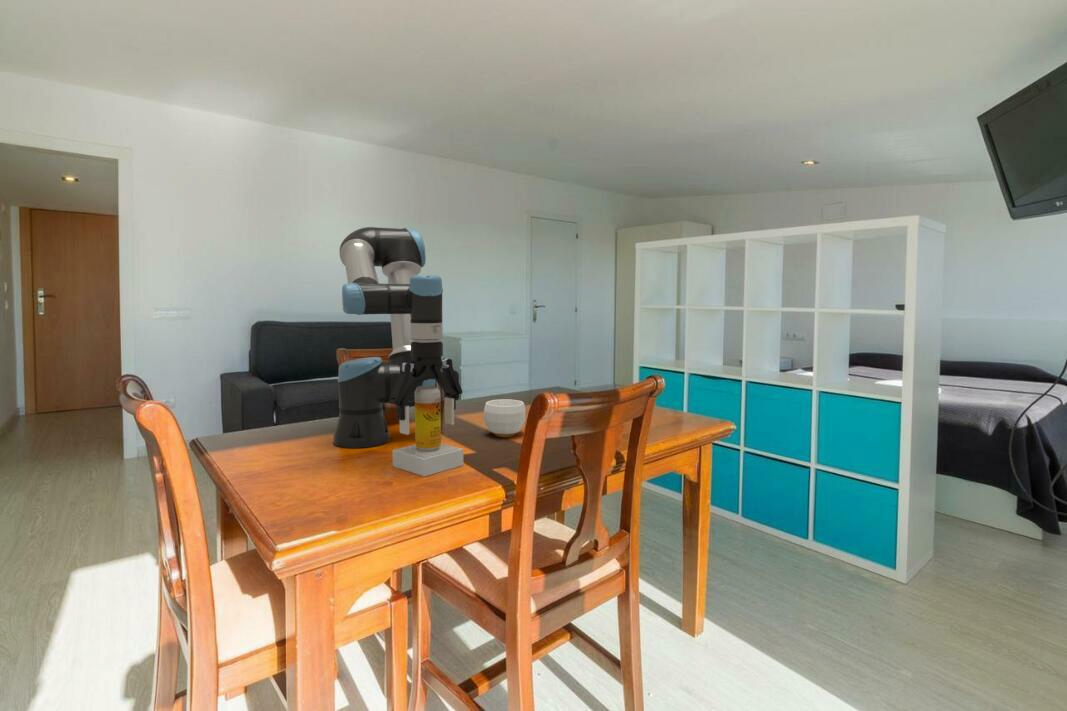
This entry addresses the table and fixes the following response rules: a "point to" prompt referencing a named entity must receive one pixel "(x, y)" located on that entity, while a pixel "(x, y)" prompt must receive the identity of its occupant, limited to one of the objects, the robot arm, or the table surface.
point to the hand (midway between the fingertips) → (427, 428)
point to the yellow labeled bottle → (427, 418)
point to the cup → (504, 416)
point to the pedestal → (427, 459)
